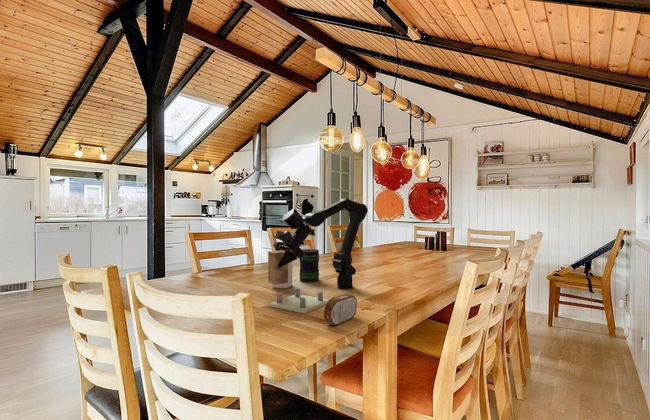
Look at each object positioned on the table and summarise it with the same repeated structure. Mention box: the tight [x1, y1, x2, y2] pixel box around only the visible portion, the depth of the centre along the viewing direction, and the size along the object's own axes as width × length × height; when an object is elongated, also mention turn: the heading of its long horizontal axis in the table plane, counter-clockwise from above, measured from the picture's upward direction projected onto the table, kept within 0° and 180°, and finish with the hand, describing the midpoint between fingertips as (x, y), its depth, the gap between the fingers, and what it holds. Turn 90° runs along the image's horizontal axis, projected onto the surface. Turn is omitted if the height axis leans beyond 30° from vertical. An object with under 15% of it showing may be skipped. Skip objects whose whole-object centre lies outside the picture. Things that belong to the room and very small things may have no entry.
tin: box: [323, 293, 358, 326], centre depth 116 cm, size 15×3×8 cm, turn 141°
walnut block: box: [267, 250, 288, 285], centre depth 145 cm, size 6×6×12 cm
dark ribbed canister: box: [299, 248, 320, 283], centre depth 179 cm, size 10×10×15 cm
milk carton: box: [271, 261, 293, 289], centre depth 165 cm, size 7×7×19 cm
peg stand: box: [269, 287, 330, 314], centre depth 136 cm, size 16×16×4 cm
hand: (275, 265), depth 144 cm, fingers closed on walnut block, 6 cm apart
